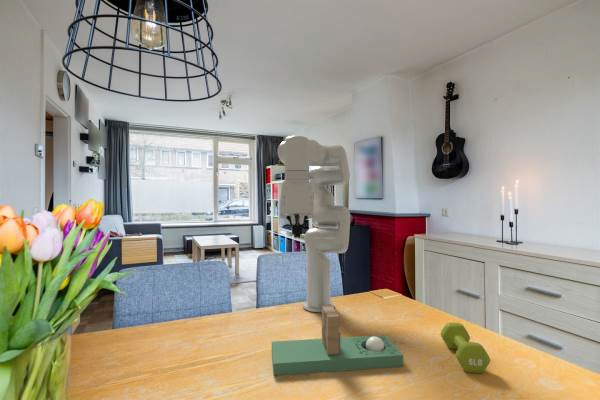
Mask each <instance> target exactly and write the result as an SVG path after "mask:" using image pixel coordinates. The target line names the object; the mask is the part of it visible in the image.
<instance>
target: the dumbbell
mask: <svg viewBox="0 0 600 400" xmlns="http://www.w3.org/2000/svg"><path fill="white" fill-rule="evenodd" d="M440 337H441V338H442V340H443V342H444V344H445V346H447V348H448V349H452V350H456V352H455V358H456V359H457V361H458V364H459V365H460V367H461V368H462V369H463V371H464V372H466V373H470V374H482V373H484V372H485V370H486V369H487V368H488V366H489V365H490V362H491V358H490V356H489V354H488V352H487V351H486V349H485V348H484V346H483V344H481V343H480V342H475V341H471V340H470V339H471V336H470V334H469V332H468V331H467V329H466V327H465V326H464V325H463V324H462V323H460V322H447V323H446V324H445V325H444V326H443V328H442V329H441V332H440Z"/></svg>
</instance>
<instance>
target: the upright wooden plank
mask: <svg viewBox="0 0 600 400" xmlns="http://www.w3.org/2000/svg"><path fill="white" fill-rule="evenodd" d="M340 338H341V331H340V315H339V313H338V312H337V310H336V309H335V307H334V308H333V306H322V312H321V339H322V342H323V345H324V347H325V349H326V352H327V354H328V355H333V354H339V352H340Z"/></svg>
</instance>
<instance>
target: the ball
mask: <svg viewBox="0 0 600 400" xmlns="http://www.w3.org/2000/svg"><path fill="white" fill-rule="evenodd" d="M373 336H374V337H370V338H369V339H368V340H367V342H366V349H367V350H369V351H382V350H384V343H383V341H382V340H381V339H380V338H378V337H375V336H376V335H373Z"/></svg>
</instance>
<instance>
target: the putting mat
mask: <svg viewBox="0 0 600 400" xmlns="http://www.w3.org/2000/svg"><path fill="white" fill-rule="evenodd" d="M374 336H375V337H378V338H380V339H381V340H382V341H383V343H384V350H382V351H369V350H367V349H366V342H367V340H368V339H369V338H370V337H374ZM271 360H272V373H273V376H286V375H298V374H299V375H300V374H302V375H303V374H312V373H313V374H314V373H315V374H316V373H327V372H341V371H342V372H344V371H353V370H354V371H355V370H367V369H368V370H369V369H371V370H372V369H383V368H385V369H386V368H396V367H397V368H398V367H400V368H401V367H403V366H404V355H403V353H402V352H401V351H400V349H398V348H397V346H396V345H395V344H394V343H393V342H392V341H391V339H390V338H388V337H387V335H386V334H379V335H364V336H363V335H362V336H361V335H360V336H348V337H347V336H345V337H341V336H340V352H339V354H333V355H328V354H327V352H326V349H325V347H324V345H323V342H322V338H313V339H310V338H308V339H294V340H293V339H292V340H274V341H271Z"/></svg>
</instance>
